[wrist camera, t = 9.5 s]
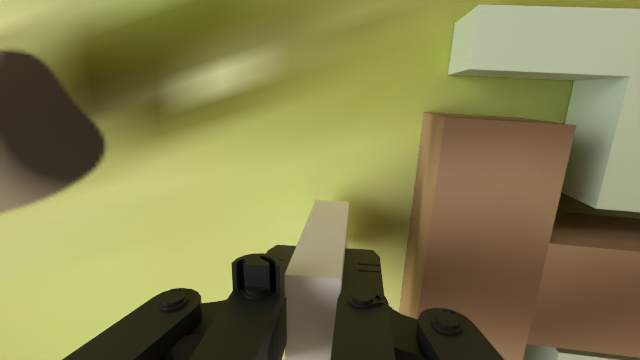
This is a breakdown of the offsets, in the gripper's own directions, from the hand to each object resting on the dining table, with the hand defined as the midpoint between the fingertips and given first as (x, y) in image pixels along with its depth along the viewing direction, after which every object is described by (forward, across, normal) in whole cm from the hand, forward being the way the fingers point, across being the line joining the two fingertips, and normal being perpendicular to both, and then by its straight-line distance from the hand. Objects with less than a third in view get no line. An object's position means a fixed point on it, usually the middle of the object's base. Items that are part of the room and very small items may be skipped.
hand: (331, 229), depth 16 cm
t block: (+1, +10, -1) cm, 10 cm away
